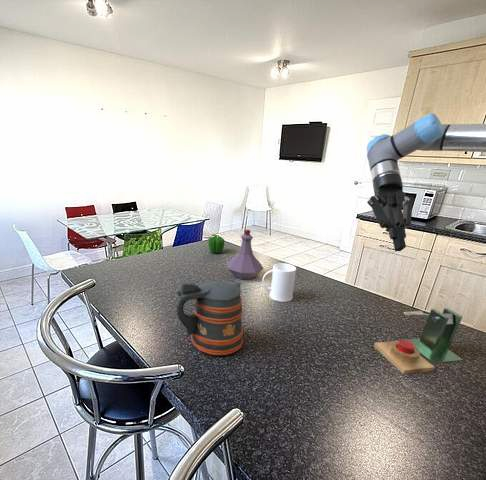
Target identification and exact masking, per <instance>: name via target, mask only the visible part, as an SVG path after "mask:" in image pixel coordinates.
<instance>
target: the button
mask: <svg viewBox="0 0 486 480" xmlns="http://www.w3.org/2000/svg"><path fill="white" fill-rule="evenodd" d="M398 341H399V342H398V345H397V349H398V350H400V351H401V352H404V353H407V354H412V353H413V351H414V348H415V346H414V344H412V343H411V342H409V341H405V339H401V340H398Z"/></svg>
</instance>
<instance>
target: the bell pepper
mask: <svg viewBox="0 0 486 480" xmlns="http://www.w3.org/2000/svg"><path fill="white" fill-rule="evenodd" d="M211 236H212V237H209V238H208V241H207V243H208V248H209V252H210V253H211V254H222V252H223V251H224V247H225V239H224V238H223V237H222V236H218V235H217V234H215V233H212V234H211Z"/></svg>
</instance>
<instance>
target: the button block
mask: <svg viewBox="0 0 486 480" xmlns="http://www.w3.org/2000/svg"><path fill="white" fill-rule="evenodd" d="M399 341H400V340H391V341H379V342H378V341H377V342H374V344H373V347H374V348H375V349H376V350H377V351H378V352H379V353H380V354H381V355H382V356H383V357H384V358H385V359H386V360H388V361H389V362H390V363H391V365H393V366H394V367H395V368H396V369H397V370H398V371H399V372H401V374H402V375H408V374H417V373H427V372H434V370H435V368H436V366H435V365H433V363H432V362H430V361H429V360H428V359H427V358H425V357H424V356H423V355H422V354H421V353H420V352H419V350H418V349H417V348H416V347H415V348H414V351H413V353H412V354H407V353H404V352H401V351H400V350H398V349H397V345H398V342H399Z"/></svg>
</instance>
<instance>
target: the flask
mask: <svg viewBox="0 0 486 480" xmlns="http://www.w3.org/2000/svg"><path fill="white" fill-rule="evenodd" d="M243 231H244V233H243V234H242V235H241V236H240V238H241V244H240V247H239V250H238V252H237V253H236V254H235V255H234V256H233V257H232V258H231V259H229V260H228V261H226V267H227V270H228V271H229V272H230V273H231V274H232V275H233V277H234V278H237V277H238V278H237V279H240V280H251V279H253V278H255V277H256V276H257V275H259V273H261V272H262V271H263V270H265V269H264V267H263V265H262V263H261V262H260V261H259V260H258V259H257V257H255V255H254V253H253V247H252V241H253V236H252V235H251V230H250V229H244V230H243ZM254 276H255V277H254Z"/></svg>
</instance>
